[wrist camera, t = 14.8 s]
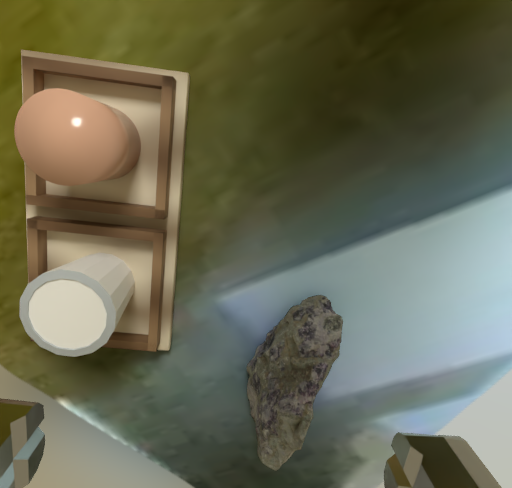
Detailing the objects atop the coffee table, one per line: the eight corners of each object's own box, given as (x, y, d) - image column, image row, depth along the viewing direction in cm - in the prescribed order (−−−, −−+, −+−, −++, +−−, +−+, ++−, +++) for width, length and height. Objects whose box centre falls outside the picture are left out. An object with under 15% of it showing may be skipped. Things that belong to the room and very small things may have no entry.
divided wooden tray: (28, 53, 28) (8, 43, 26) (190, 75, 29) (185, 68, 27) (36, 333, 34) (20, 347, 32) (170, 345, 35) (165, 359, 33)
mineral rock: (317, 281, 34) (348, 330, 24) (373, 359, 36) (422, 433, 27) (211, 353, 35) (200, 426, 26) (272, 424, 38) (283, 517, 28)
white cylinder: (89, 327, 33) (50, 371, 26) (50, 264, 31) (-2, 293, 25) (154, 299, 33) (132, 336, 26) (118, 233, 31) (84, 254, 24)
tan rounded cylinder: (67, 100, 28) (12, 82, 22) (142, 110, 29) (112, 95, 22) (67, 175, 30) (16, 180, 23) (139, 183, 30) (109, 190, 23)
